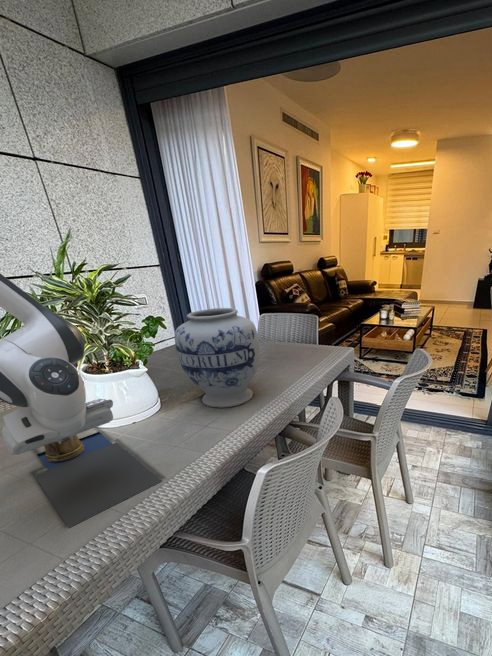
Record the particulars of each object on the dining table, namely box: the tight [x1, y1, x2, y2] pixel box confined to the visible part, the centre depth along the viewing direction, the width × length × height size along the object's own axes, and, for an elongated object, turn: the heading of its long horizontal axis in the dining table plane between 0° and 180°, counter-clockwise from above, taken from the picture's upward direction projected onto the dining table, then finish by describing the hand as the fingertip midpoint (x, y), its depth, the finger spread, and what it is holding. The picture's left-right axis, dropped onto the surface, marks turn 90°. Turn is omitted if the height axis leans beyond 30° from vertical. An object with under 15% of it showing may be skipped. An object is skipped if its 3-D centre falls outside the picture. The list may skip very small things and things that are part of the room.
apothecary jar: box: [174, 307, 261, 409], centre depth 119 cm, size 27×27×30 cm
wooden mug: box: [43, 434, 84, 462], centre depth 90 cm, size 9×14×18 cm, turn 12°
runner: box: [33, 442, 163, 529], centre depth 86 cm, size 20×28×1 cm
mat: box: [36, 431, 114, 470], centre depth 100 cm, size 16×14×1 cm
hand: (64, 439), depth 83 cm, fingers closed
